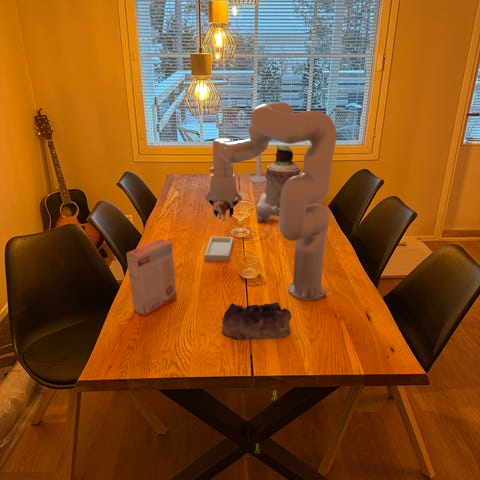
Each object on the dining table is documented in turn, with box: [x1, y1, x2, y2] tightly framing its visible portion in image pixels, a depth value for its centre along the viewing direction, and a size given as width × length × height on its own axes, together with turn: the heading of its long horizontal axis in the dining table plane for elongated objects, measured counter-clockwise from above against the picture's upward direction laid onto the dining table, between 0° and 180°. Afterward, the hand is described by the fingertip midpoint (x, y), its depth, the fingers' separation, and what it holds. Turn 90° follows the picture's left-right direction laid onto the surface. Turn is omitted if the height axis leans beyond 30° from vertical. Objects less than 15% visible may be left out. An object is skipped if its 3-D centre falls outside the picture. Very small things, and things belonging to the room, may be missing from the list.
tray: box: [204, 236, 234, 262], centre depth 182 cm, size 19×10×2 cm, turn 176°
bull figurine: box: [212, 201, 230, 222], centre depth 174 cm, size 4×13×8 cm, turn 156°
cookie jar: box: [256, 145, 302, 210], centre depth 232 cm, size 25×25×32 cm
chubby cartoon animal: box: [256, 203, 280, 223], centre depth 213 cm, size 8×12×9 cm, turn 89°
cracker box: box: [125, 238, 178, 317], centre depth 140 cm, size 14×6×21 cm, turn 141°
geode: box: [221, 301, 293, 341], centre depth 129 cm, size 20×12×10 cm, turn 98°
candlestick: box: [248, 153, 267, 184], centre depth 276 cm, size 13×13×30 cm
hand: (223, 215), depth 176 cm, fingers closed on bull figurine, 5 cm apart
